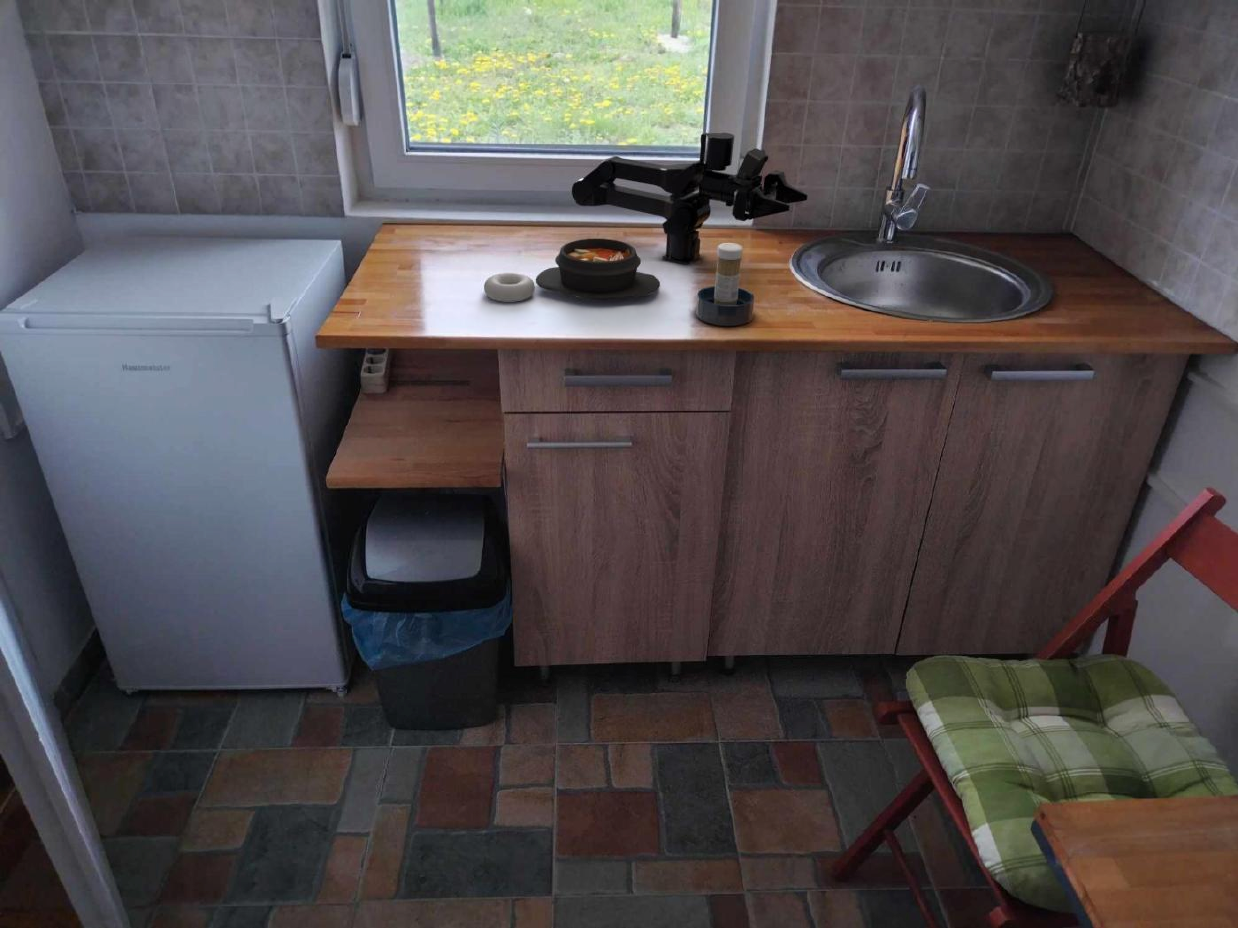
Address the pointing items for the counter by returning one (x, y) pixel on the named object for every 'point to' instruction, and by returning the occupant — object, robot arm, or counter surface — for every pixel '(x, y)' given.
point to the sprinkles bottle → (727, 274)
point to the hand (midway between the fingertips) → (798, 202)
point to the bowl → (724, 308)
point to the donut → (509, 287)
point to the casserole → (598, 271)
